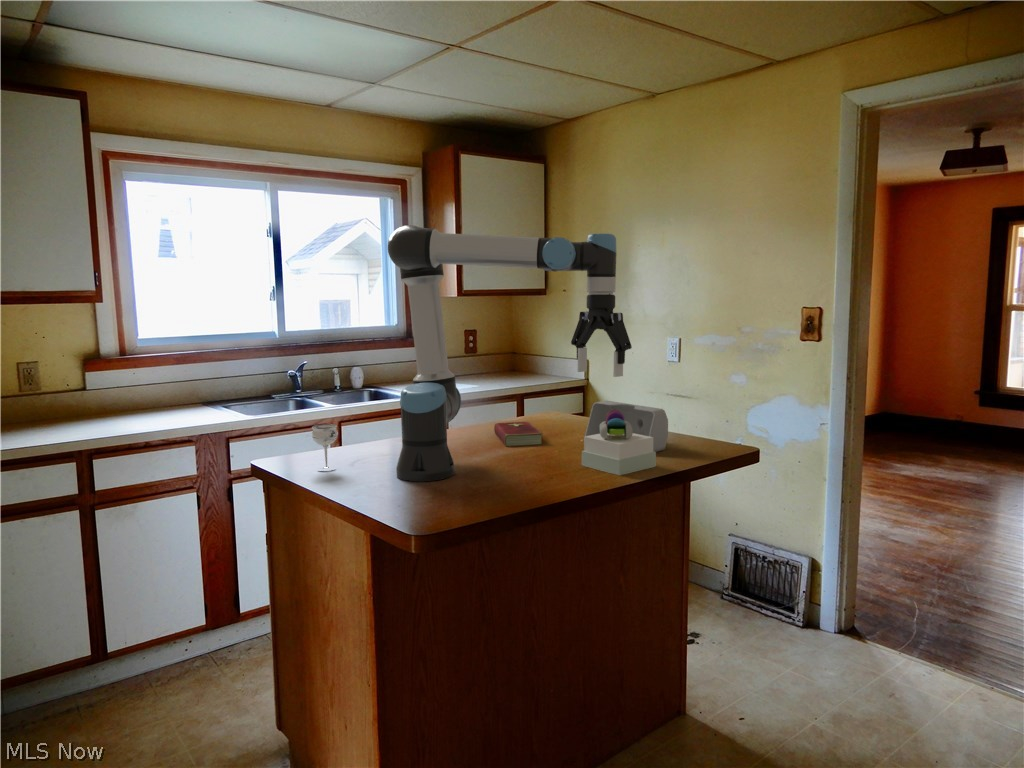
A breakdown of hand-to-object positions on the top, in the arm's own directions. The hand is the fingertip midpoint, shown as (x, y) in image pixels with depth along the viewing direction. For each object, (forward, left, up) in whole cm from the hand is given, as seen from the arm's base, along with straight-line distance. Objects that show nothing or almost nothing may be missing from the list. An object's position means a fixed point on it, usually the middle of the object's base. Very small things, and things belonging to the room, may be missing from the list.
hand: (599, 374), depth 186 cm
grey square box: (+3, -4, -25) cm, 25 cm away
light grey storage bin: (+25, +12, -25) cm, 38 cm away
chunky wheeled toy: (+2, -4, -17) cm, 18 cm away
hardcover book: (+5, +43, -26) cm, 50 cm away
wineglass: (-59, +45, -25) cm, 78 cm away
